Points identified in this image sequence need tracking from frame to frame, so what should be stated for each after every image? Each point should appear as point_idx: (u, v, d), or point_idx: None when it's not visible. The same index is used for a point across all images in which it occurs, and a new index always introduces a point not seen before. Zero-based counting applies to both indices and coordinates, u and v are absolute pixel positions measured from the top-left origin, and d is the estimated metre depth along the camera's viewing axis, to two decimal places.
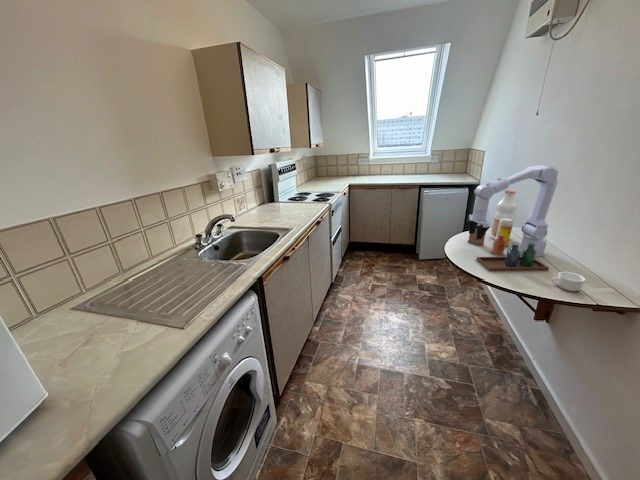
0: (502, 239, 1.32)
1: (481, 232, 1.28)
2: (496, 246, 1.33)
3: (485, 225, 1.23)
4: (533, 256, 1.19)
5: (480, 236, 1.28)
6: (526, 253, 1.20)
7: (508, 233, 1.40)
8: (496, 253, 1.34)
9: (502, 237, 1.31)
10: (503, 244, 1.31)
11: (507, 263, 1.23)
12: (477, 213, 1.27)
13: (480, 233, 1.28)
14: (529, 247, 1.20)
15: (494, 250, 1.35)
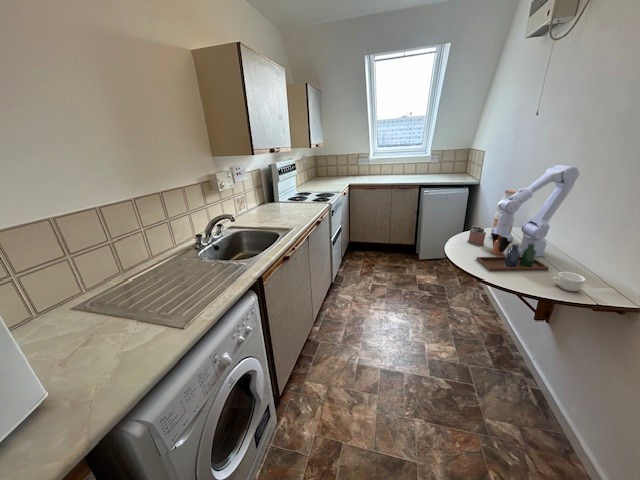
0: None
1: (504, 244, 1.31)
2: (496, 246, 1.33)
3: (510, 239, 1.25)
4: (533, 256, 1.19)
5: (503, 248, 1.31)
6: (526, 253, 1.20)
7: None
8: (496, 253, 1.34)
9: (502, 237, 1.31)
10: None
11: (507, 263, 1.23)
12: (502, 227, 1.29)
13: (503, 245, 1.31)
14: (529, 247, 1.20)
15: (494, 250, 1.35)
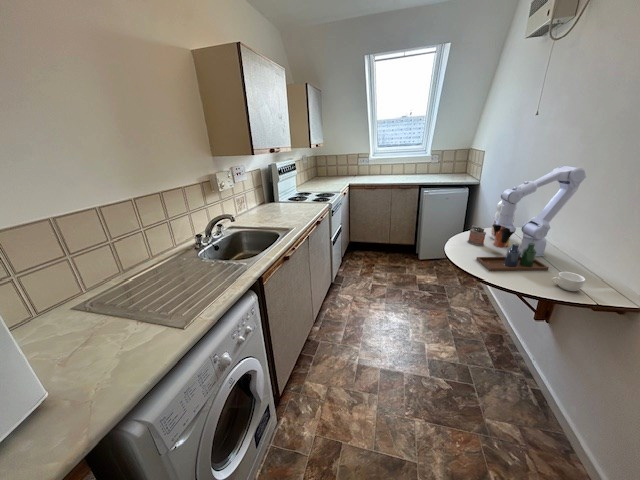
0: None
1: (506, 235, 1.29)
2: (498, 238, 1.31)
3: (512, 229, 1.23)
4: (533, 256, 1.19)
5: (505, 239, 1.30)
6: (526, 253, 1.20)
7: None
8: (498, 245, 1.32)
9: (504, 228, 1.30)
10: None
11: (507, 263, 1.23)
12: (504, 217, 1.27)
13: (505, 236, 1.29)
14: (529, 247, 1.20)
15: (496, 242, 1.33)
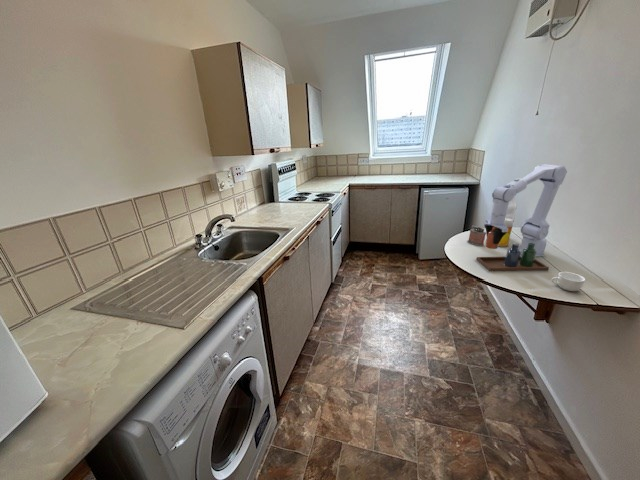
0: None
1: (498, 236, 1.21)
2: (490, 238, 1.24)
3: (504, 230, 1.16)
4: (533, 256, 1.19)
5: (497, 240, 1.22)
6: (526, 253, 1.20)
7: (508, 233, 1.40)
8: (490, 246, 1.25)
9: (496, 228, 1.22)
10: None
11: (507, 263, 1.23)
12: (495, 217, 1.19)
13: (497, 237, 1.22)
14: (529, 247, 1.20)
15: (488, 242, 1.25)
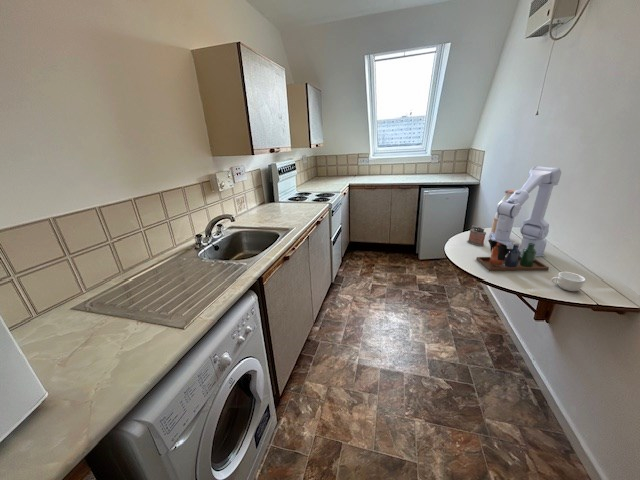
0: None
1: (503, 252, 1.18)
2: (494, 254, 1.21)
3: (510, 246, 1.13)
4: (533, 256, 1.19)
5: (502, 256, 1.19)
6: (526, 253, 1.20)
7: None
8: (494, 262, 1.22)
9: (501, 244, 1.19)
10: None
11: (507, 263, 1.23)
12: (500, 233, 1.16)
13: (502, 253, 1.18)
14: (529, 247, 1.20)
15: (492, 258, 1.22)
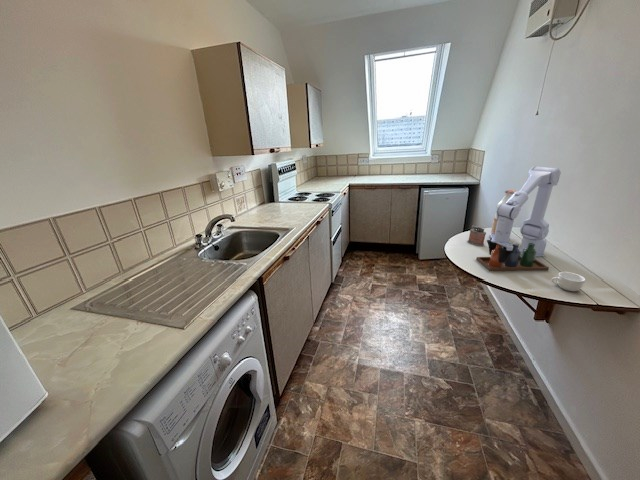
0: None
1: (504, 255, 1.18)
2: (493, 257, 1.21)
3: (509, 248, 1.13)
4: (533, 256, 1.19)
5: (503, 259, 1.18)
6: (526, 253, 1.20)
7: None
8: (494, 264, 1.22)
9: (500, 247, 1.20)
10: None
11: (507, 263, 1.23)
12: (500, 234, 1.17)
13: (503, 256, 1.18)
14: (529, 247, 1.20)
15: (491, 261, 1.23)
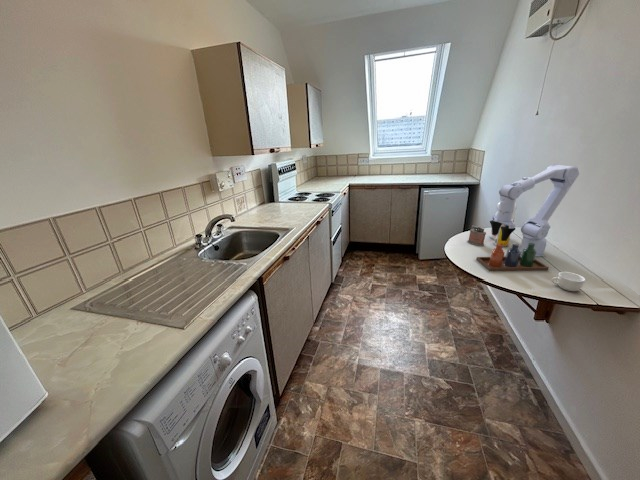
0: (500, 249, 1.20)
1: (506, 233, 1.24)
2: (493, 257, 1.21)
3: (511, 226, 1.20)
4: (533, 256, 1.19)
5: (505, 237, 1.25)
6: (526, 253, 1.20)
7: None
8: (493, 264, 1.22)
9: (500, 247, 1.20)
10: (501, 255, 1.20)
11: (507, 263, 1.23)
12: (502, 214, 1.23)
13: (505, 234, 1.24)
14: (529, 247, 1.20)
15: (491, 261, 1.23)
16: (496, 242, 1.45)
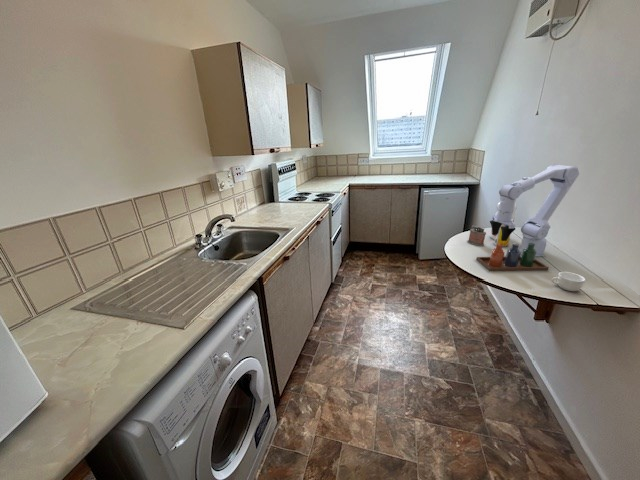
0: (500, 249, 1.20)
1: (506, 233, 1.24)
2: (493, 257, 1.21)
3: (511, 226, 1.20)
4: (533, 256, 1.19)
5: (505, 237, 1.25)
6: (526, 253, 1.20)
7: None
8: (493, 264, 1.22)
9: (500, 247, 1.20)
10: (501, 255, 1.20)
11: (507, 263, 1.23)
12: (502, 214, 1.23)
13: (505, 234, 1.24)
14: (529, 247, 1.20)
15: (491, 261, 1.23)
16: (496, 242, 1.45)
